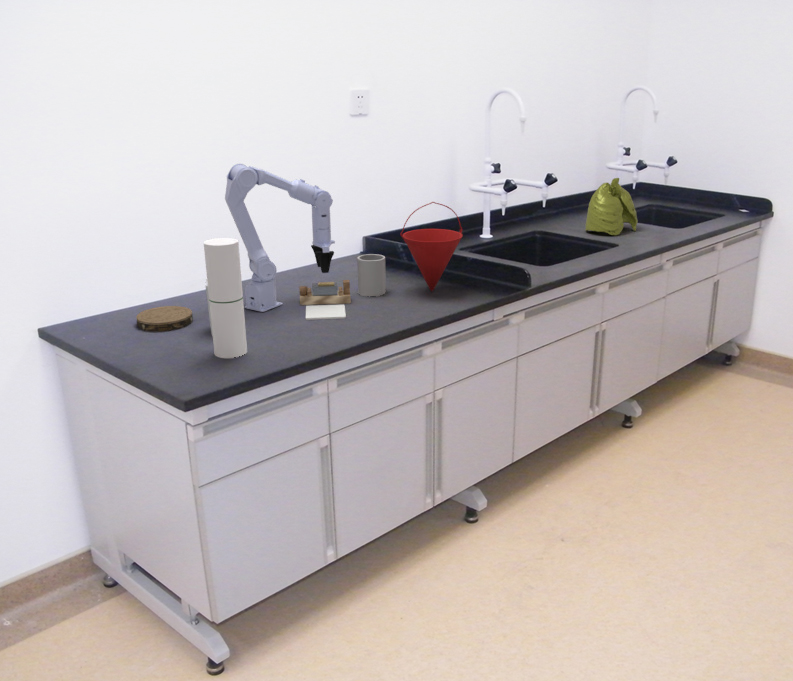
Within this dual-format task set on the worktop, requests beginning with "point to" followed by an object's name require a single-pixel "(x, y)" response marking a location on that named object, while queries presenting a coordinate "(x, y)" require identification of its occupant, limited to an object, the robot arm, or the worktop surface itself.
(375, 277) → the cup
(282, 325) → the worktop surface
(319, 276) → the worktop surface
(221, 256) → the container
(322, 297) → the wooden block stand
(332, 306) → the white base plate
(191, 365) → the worktop surface
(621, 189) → the lungs
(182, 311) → the wood slice
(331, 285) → the lever cap
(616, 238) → the worktop surface
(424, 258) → the fire bucket
